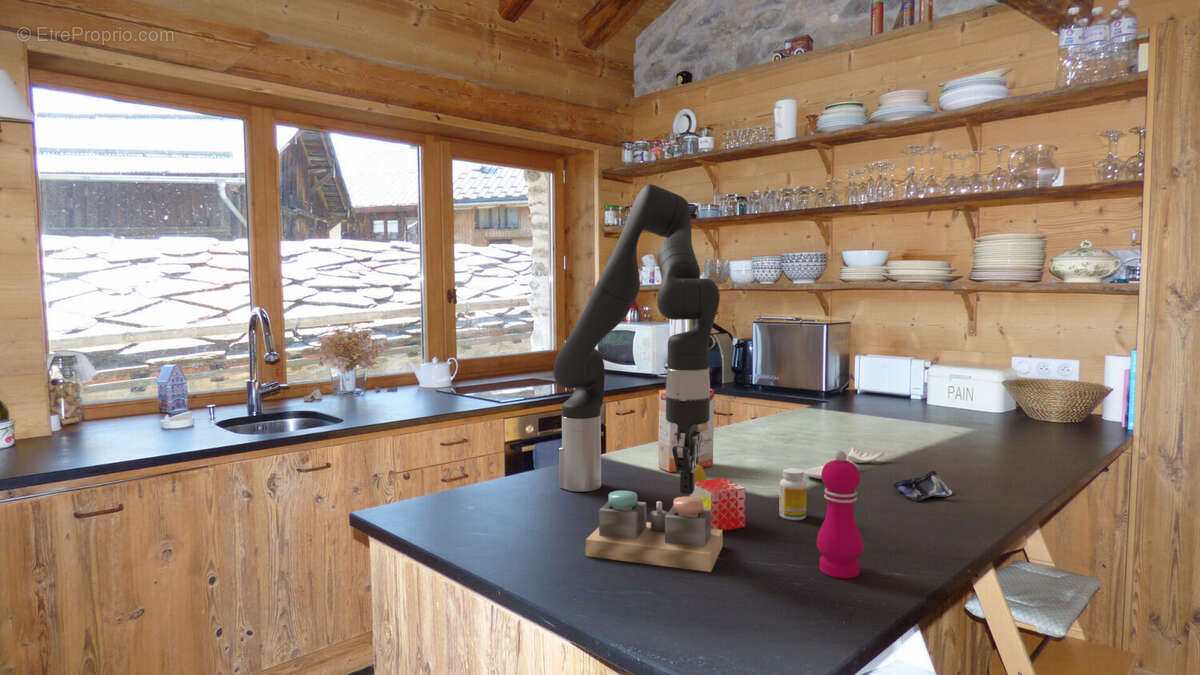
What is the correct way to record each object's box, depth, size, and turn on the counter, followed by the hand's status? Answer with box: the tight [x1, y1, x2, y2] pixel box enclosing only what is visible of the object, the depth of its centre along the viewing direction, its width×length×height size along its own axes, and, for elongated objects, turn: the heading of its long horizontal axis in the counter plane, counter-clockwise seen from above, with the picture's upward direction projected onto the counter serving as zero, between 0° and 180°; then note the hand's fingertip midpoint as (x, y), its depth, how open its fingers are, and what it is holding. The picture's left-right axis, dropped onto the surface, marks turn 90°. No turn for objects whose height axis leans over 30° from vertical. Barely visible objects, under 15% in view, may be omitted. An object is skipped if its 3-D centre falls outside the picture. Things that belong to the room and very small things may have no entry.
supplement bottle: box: [778, 467, 808, 521], centre depth 139 cm, size 5×5×10 cm
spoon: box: [802, 446, 885, 480], centre depth 175 cm, size 9×32×4 cm, turn 135°
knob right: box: [673, 495, 703, 518], centre depth 119 cm, size 5×5×7 cm
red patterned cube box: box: [689, 477, 746, 531], centre depth 135 cm, size 8×8×8 cm
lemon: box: [694, 464, 707, 482], centre depth 153 cm, size 6×6×8 cm
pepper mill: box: [816, 450, 864, 579], centre depth 111 cm, size 7×7×20 cm
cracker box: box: [658, 388, 715, 473], centre depth 178 cm, size 14×6×21 cm, turn 117°
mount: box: [585, 500, 724, 573], centre depth 121 cm, size 22×12×8 cm, turn 71°
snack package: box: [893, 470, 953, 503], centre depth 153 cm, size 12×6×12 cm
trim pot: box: [650, 500, 669, 532], centre depth 123 cm, size 3×3×5 cm
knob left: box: [608, 490, 638, 511], centre depth 123 cm, size 5×5×7 cm
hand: (687, 492), depth 118 cm, fingers closed
